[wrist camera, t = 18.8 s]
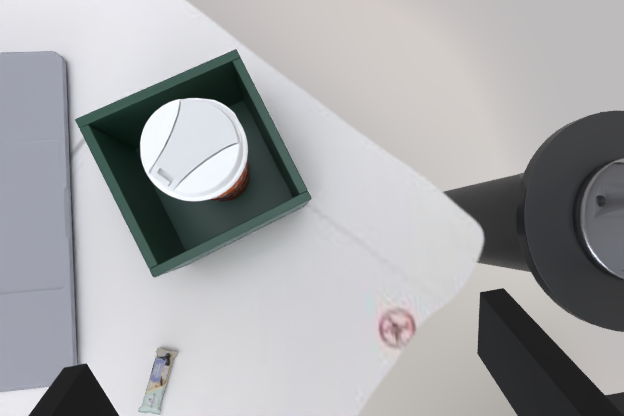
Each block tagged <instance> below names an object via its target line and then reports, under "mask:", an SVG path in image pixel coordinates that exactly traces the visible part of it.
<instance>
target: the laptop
mask: <svg viewBox="0 0 624 416" xmlns="http://www.w3.org/2000/svg"><path fill="white" fill-rule="evenodd" d="M75 365H77V350H76V323H75V297H74V270H73V243H72V216H71V189H70V163H69V136H68V109H67V82H66V62H65V60H64V58H63V57H62V56H60V55H59V54H58V53H56V52H53V51H44V52H7V53H0V392H6V391H15V390H24V389H33V388H42V387H50V386H51V384H52V383H53V382H54V380H55V379H56V378H57V376H58V375H59V373H60V372H61V371H62V369H63V368H64V367H70V366H75Z"/></svg>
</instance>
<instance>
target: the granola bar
mask: <svg viewBox="0 0 624 416" xmlns="http://www.w3.org/2000/svg"><path fill="white" fill-rule="evenodd" d="M156 352H157V356H156V358H155V362H154V365H153V368H152V372H151V375H150V379H149V382H148V386H147V389H146V393H145V397H144V400H143V404H142V406H141V407H140V408H139V410H138V411H139V412H143V413H153V414H158V415H160V413H161V410H160V405H161V401H162V398H163V395H164V391H165V387H166V384H167V380H168V377H169V373H170V370H171V366H172V362H173V359H174V357H176V356H177V354H178V352H172V351H167V350H164V349H160V348H158V349H157V351H156Z"/></svg>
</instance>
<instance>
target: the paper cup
mask: <svg viewBox="0 0 624 416" xmlns="http://www.w3.org/2000/svg"><path fill="white" fill-rule="evenodd" d="M140 151H141V160H142V164H143V167H144V169H145V172H146V173H147V175H148V177H149V178H150V180H151V181H152V182H153V183H154V185H155V186H157V187H158V188H159V189H160V190H161V191H163V192H164V193H166V194H168V195H170V196H172V197H174V198H177V199H181V200H185V201H203V200H215V201H229V200H232V199H235V198H237V197H239V196H240V195H241V194H242V193H243V192H244V191H245V189H246V188H247V186H248V183H249V178H250V173H249V166H248V161H247V154H248V145H247V139H246V135H245V132H244V130H243V127H242V126H241V124H240V122H239V121H238V119H237V117H236V115H235V113H234V112H233V111H232V110H231V109H229V108H228V107H227V106H225V105H224V104H222V103H220V102H218V101H216V100H211V99H200V98H187V99H178V100H174V101H172V102H169V103H167V104H165V105H163V106H162V107H160V108H159V109H158V110H156V111H155V112H154V113H153V114H152V115H151V117H150V118H149V120H148V121H147V123H146V125H145V127H144V129H143V132H142V135H141V142H140Z"/></svg>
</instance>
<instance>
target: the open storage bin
mask: <svg viewBox="0 0 624 416" xmlns="http://www.w3.org/2000/svg"><path fill="white" fill-rule="evenodd" d="M187 98H200V99H211V100H216V101H218V102H220V103H222V104H224V105H225V106H227V107H228V108H229V109H231V110H232V111H233V112H234V113H235V115H236V117H237V119H238V121H239V122H240V124H241V126H242V127H243V130H244V132H245V135H246V139H247V145H248V154H247V161H248V166H249V173H250V178H249V183H248V186H247V188H246V189H245V191H244V192H243V193H242V194H241V195H240V196H239V197H237V198H235V199H232V200H229V201H215V200H203V201H185V200H181V199H177V198H174V197H172V196H170V195H168V194H166V193H164V192H163V191H161V190H160V189H159V188H158V187H157V186H155V185H154V183H153V182H152V181H151V180H150V178H149V177H148V175H147V173H146V172H145V169H144V167H143V164H142V160H141V151H140V142H141V135H142V132H143V129H144V127H145V125H146V123H147V121H148V120H149V118H150V117H151V115H152V114H153V113H154V112H155V111H156V110H158V109H159V108H160V107H162V106H163V105H165V104H167V103H169V102H172V101H174V100H178V99H187ZM75 121H76V123H77V125H78V127H79V128H80V130H81V132H82V134H83V136H84V138H85V141H86V143H87V145H88V147H89V149H90V151H91V153H92V155H93V157H94V159H95V161H96V163H97V165H98V167H99V169H100V171H101V173H102V175H103V177H104V179H105V181H106V183H107V185H108V187H109V189H110V191H111V193H112V195H113V197H114V199H115V201H116V203H117V205H118V207H119V209H120V211H121V213H122V215H123V217H124V219H125V221H126V223H127V225H128V227H129V229H130V231H131V233H132V235H133V237H134V239H135V241H136V243H137V245H138V247H139V249H140V251H141V254H142V256H143V258H144V260H145V262H146V264H147V266H148V268H149V269H150V272H151V274H152V276H153V277H157V276H160V275H162V274H165V273H168V272H170V271H173V270H176V269H178V268H181V267H183V266H186V265H188V264H190V263H192V262H194V261H196V260H198V259H200V258H202V257H204V256H206V255H208V254H210V253H212V252H214V251H216V250H218V249H220V248H222V247H224V246H226V245H228V244H230V243H232V242H234V241H236V240H238V239H240V238H242V237H244V236H246V235H248V234H250V233H252V232H254V231H256V230H258V229H260V228H262V227H264V226H266V225H268V224H270V223H272V222H274V221H276V220H278V219H280V218H282V217H284V216H286V215H288V214H290V213H292V212H294V211H296V210H298V209H300V208H302V207H304V206H305V205H306V204H307V203H308V202H309V201H310V200H311V196H310V194H309V192H308V191H307V188H306V186H305V184H304V182H303V180H302V178H301V176H300V174H299V172H298V170H297V168H296V166H295V164H294V162H293V160H292V158H291V156H290V155H289V153H288V151H287V149H286V147H285V145H284V143H283V141H282V139H281V137H280V135H279V133H278V131H277V129H276V127H275V125H274V123H273V121H272V119H271V117H270V115H269V113H268V111H267V109H266V107H265V105H264V103H263V101H262V99H261V97H260V95H259V93H258V91H257V89H256V87H255V85H254V83H253V81H252V79H251V77H250V75H249V73H248V72H247V70H246V68H245V66H244V64H243V62H242V60H241V58H240V56H239V54H238V52H237V50H233V51H231V52H229V53H226V54H224V55H222V56H220V57H217V58H215V59H213V60H210V61H208V62H206V63H203V64H201V65H199V66H197V67H194V68H192V69H190V70H187V71H185V72H183V73H180V74H178V75H176V76H174V77H171V78H169V79H167V80H164V81H162V82H160V83H158V84H155V85H153V86H151V87H148V88H146V89H144V90H141V91H139V92H137V93H135V94H132V95H130V96H128V97H125V98H123V99H121V100H118V101H116V102H114V103H112V104H109V105H107V106H105V107H102V108H100V109H98V110H96V111H93V112H91V113H89V114H86V115H84V116H82V117H79V118H77V119H75Z"/></svg>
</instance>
